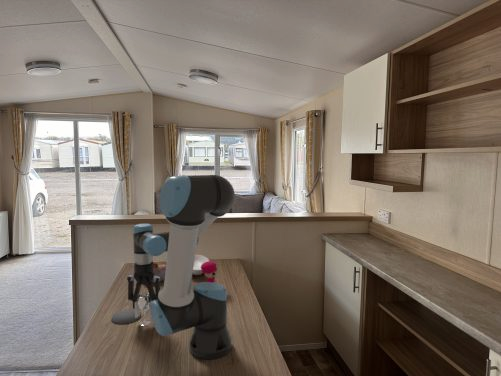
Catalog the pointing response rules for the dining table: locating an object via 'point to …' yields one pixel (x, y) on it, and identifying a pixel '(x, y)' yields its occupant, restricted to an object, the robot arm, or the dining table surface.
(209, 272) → the toy
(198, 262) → the bowl
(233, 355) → the dining table surface
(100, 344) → the dining table surface
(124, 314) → the coaster
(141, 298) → the wineglass
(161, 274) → the food item
